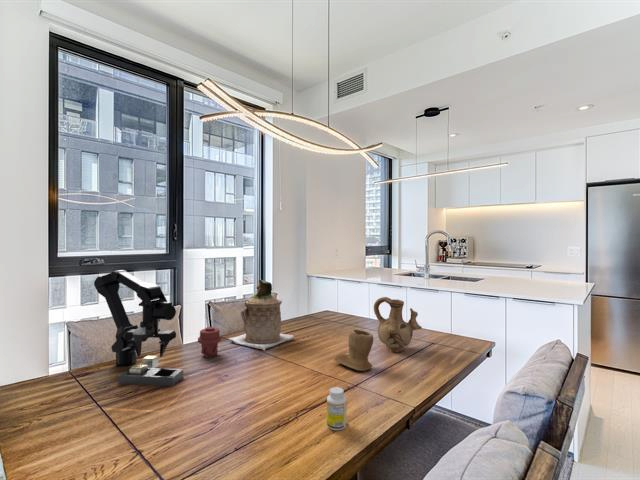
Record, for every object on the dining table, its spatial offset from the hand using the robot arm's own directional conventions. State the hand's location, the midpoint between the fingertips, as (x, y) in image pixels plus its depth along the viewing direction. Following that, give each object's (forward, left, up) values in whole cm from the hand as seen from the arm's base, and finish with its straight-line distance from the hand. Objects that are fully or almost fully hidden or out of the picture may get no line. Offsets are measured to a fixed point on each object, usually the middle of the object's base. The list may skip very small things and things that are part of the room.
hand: (150, 356), depth 136 cm
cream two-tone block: (0, 0, -5) cm, 5 cm away
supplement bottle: (+75, -34, -5) cm, 83 cm away
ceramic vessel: (+102, +34, -5) cm, 108 cm away
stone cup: (+82, +12, -5) cm, 83 cm away
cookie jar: (+35, +42, -6) cm, 55 cm away
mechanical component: (+17, +18, -5) cm, 25 cm away
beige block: (+2, -11, -5) cm, 12 cm away
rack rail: (+7, -11, -5) cm, 14 cm away
